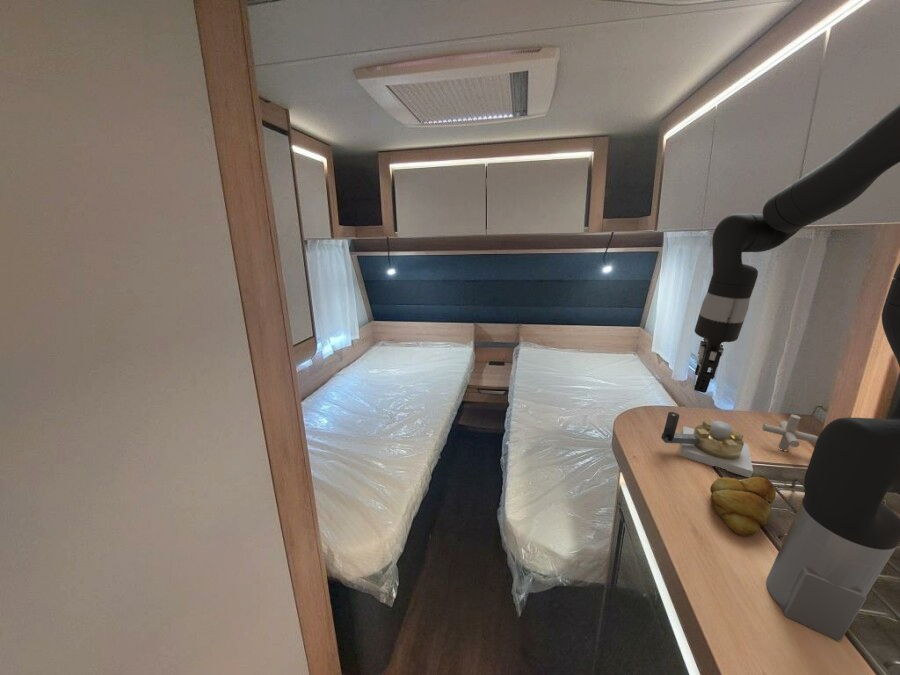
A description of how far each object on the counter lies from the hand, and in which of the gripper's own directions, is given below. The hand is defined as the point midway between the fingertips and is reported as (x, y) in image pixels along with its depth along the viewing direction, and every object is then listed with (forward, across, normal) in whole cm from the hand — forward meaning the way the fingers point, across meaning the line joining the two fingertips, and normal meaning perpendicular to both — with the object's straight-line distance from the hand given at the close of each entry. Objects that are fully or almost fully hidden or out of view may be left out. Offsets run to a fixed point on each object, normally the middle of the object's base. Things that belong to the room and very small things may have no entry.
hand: (699, 382), depth 78 cm
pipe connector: (+22, +20, -23) cm, 38 cm away
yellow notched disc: (+20, +6, -4) cm, 21 cm away
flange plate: (+22, +8, -8) cm, 25 cm away
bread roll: (+22, -13, -11) cm, 27 cm away
